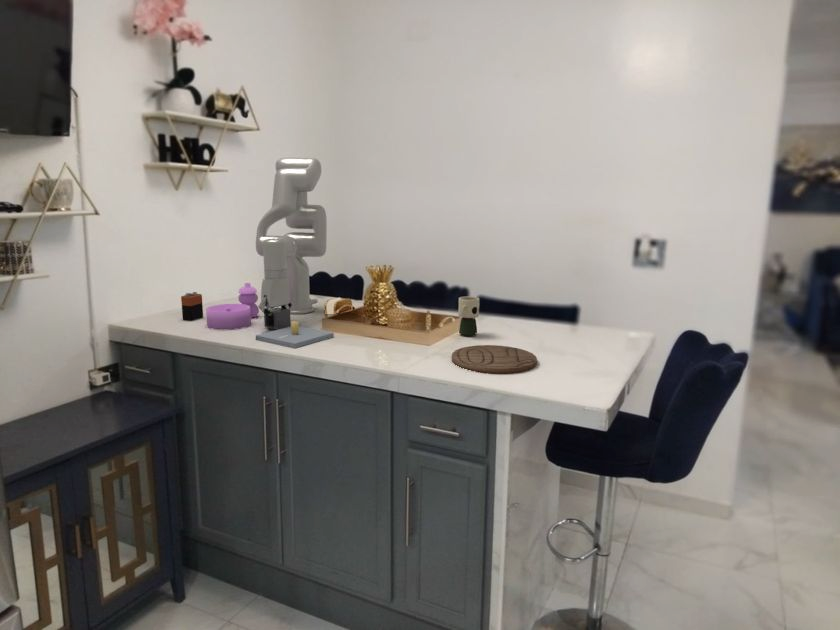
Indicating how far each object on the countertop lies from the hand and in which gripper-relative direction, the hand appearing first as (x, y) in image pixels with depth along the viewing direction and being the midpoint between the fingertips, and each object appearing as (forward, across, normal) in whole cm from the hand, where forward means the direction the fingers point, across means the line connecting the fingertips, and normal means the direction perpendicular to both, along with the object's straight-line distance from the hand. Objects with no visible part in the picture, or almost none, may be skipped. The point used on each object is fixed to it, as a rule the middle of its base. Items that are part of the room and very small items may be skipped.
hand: (277, 323), depth 216 cm
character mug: (+2, -32, +59) cm, 68 cm away
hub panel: (+1, +7, +15) cm, 17 cm away
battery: (+2, +9, -37) cm, 38 cm away
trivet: (+1, -9, +81) cm, 82 cm away
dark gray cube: (+1, 0, 0) cm, 1 cm away
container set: (+2, +2, -20) cm, 20 cm away
